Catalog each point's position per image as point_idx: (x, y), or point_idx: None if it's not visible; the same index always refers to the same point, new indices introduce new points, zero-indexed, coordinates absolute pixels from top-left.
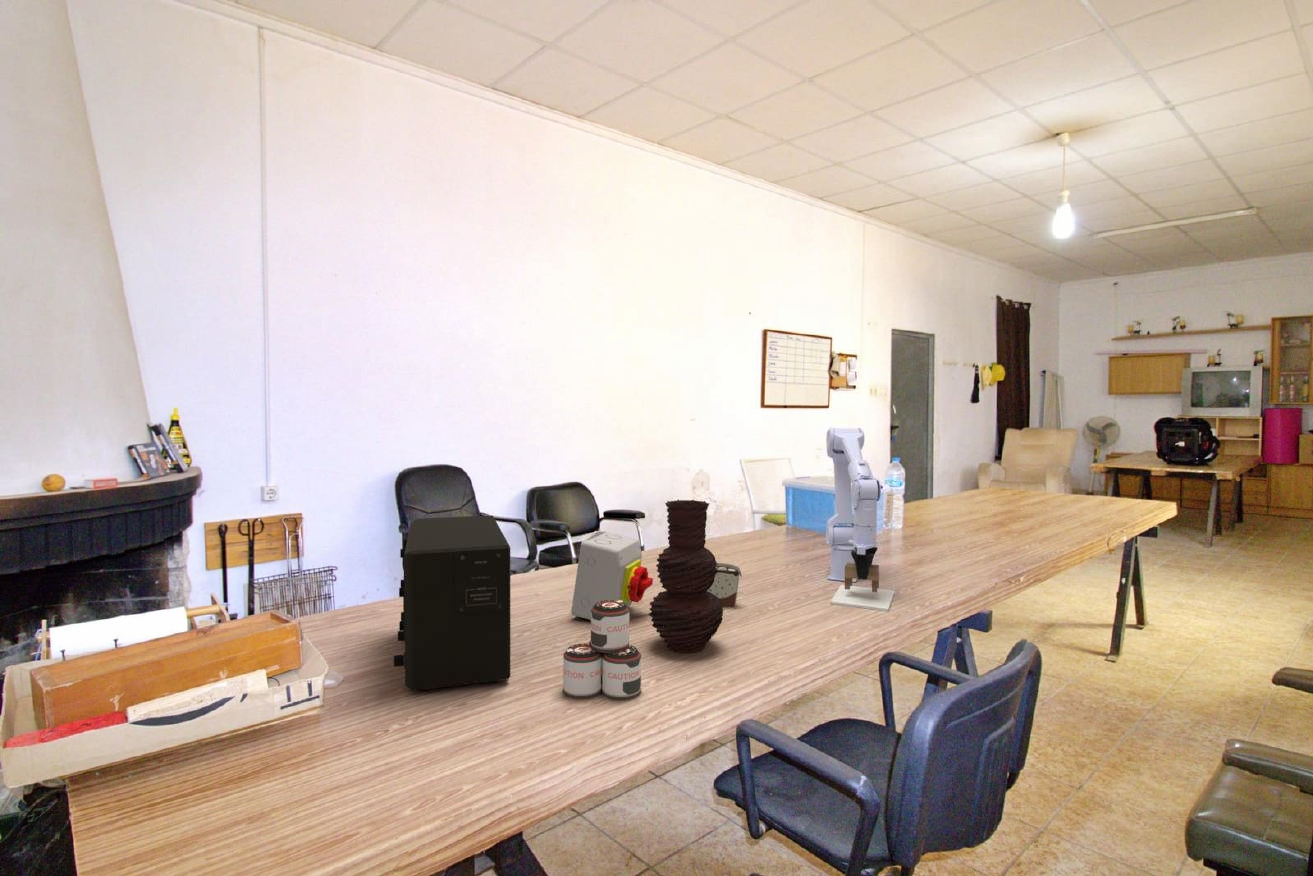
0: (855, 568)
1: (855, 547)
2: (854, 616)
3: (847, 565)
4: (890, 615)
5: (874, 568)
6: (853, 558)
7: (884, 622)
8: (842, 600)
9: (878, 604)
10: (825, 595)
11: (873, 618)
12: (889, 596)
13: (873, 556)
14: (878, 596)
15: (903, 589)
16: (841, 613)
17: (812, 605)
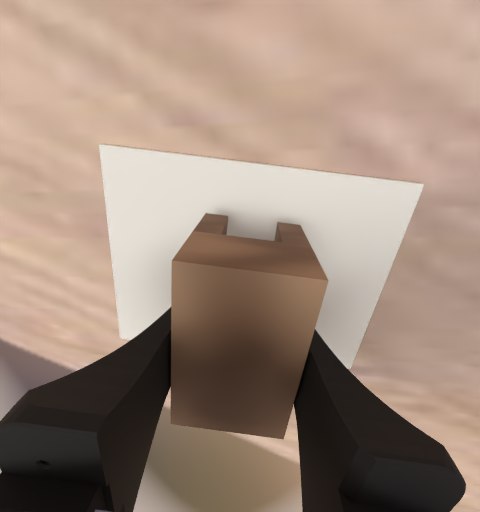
0: (175, 323)
1: (388, 465)
2: (6, 239)
3: (213, 279)
4: (87, 334)
5: (182, 416)
6: (59, 379)
7: (10, 317)
8: (143, 197)
9: (155, 316)
10: (238, 110)
11: (26, 292)
12: None
13: (302, 478)
14: None
15: (402, 387)
16: (8, 195)
17: (36, 55)
